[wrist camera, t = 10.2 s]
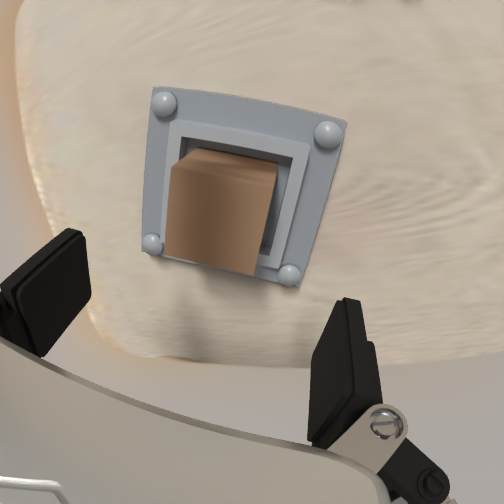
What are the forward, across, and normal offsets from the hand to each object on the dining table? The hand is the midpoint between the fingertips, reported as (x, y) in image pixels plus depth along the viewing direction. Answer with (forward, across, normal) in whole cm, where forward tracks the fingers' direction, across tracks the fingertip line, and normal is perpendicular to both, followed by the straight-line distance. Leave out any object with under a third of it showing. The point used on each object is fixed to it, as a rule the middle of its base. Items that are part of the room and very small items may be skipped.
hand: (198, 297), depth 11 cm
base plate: (+12, +1, 0) cm, 12 cm away
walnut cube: (+11, +1, 0) cm, 11 cm away
